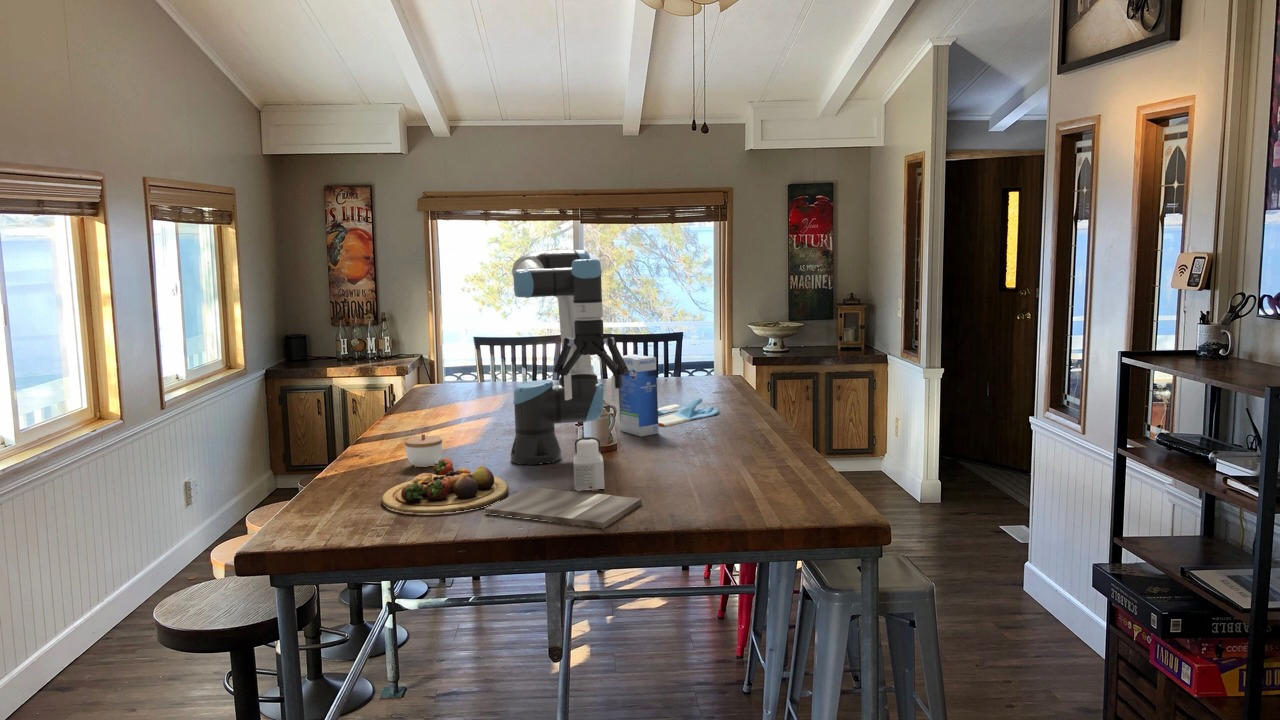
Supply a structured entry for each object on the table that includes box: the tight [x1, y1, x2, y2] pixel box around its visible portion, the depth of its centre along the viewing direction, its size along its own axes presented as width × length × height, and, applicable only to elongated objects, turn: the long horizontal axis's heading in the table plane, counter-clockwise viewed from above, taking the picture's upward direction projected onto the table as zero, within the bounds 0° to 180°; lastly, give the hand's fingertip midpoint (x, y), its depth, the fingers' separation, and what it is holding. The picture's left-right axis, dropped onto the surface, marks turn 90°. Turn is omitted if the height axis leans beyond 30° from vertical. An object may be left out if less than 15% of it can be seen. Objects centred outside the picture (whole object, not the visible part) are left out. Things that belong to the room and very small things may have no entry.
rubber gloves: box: [658, 397, 720, 428], centre depth 333 cm, size 27×33×6 cm
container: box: [572, 436, 605, 491], centre depth 238 cm, size 8×8×13 cm
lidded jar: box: [404, 433, 443, 466], centre depth 267 cm, size 11×11×9 cm
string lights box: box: [618, 353, 660, 437], centre depth 303 cm, size 13×8×26 cm, turn 34°
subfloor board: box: [484, 486, 643, 530], centre depth 219 cm, size 32×20×2 cm, turn 65°
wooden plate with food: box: [381, 457, 509, 513], centre depth 233 cm, size 32×32×8 cm
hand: (591, 400), depth 237 cm, fingers open, 13 cm apart
